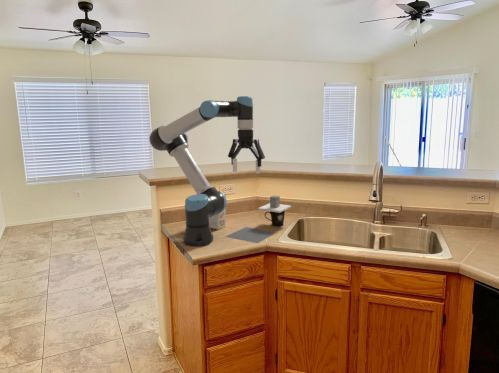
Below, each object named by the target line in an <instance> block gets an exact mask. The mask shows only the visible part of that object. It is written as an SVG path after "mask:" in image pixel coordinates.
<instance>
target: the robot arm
mask: <svg viewBox="0 0 499 373" xmlns="http://www.w3.org/2000/svg"><path fill="white" fill-rule="evenodd" d="M253 101H254V100H253V97H252V96H249V95H248V96H247V95H246V96H245V95H244V96H243V95H240V96H237V97H236V100H230V101H228V100H227V101H225V100H212V99H208V100H204V101H202V103H200V106H198V107H197V108H195V109H193V110H191V111H189V112H188V113H186V114H184V115H182V116H181V117H179V118H177V119H175V120H173V121H172V122H170V123H168V124H167V125H160V126H158V127H157V128H155V129H153V130H152V131H151V133H150V135H149V138H148V139H149V143H150V146H151V147H152V148H154V150H156V151H160V152H161V151H166V152H167V153H168V154H169V157H173V158H174V159H175V162H177V164H178V165H179V167H180V169H181V170H182V172H183V174H184V176H185V178H186V179H187V180H188V182H189V184H190V185H191V187H192V189H193V190H194V192H195V193H196V194H192V195H189V196H187V197H186V198H185V201H184V211H185V212H184V213H185V230H184V233H183V234H184V235H183V236H182V237H183V238H182V240H183V241H182V242H183V244H184V245H186V246H190V247H202V246H207V245H210V244H212V243H213V242H214V234H213V233H212V230H211V229H212V228H210V226H209V217H212V216H214V215H217V214H219V213H221V212H222V211H223V210H224V209H225V208H226V207H227V202H228V201H227V197H225V195H224V194H225V193H223V192H221V191H218V190H217V189H216V186H214V185H211V184H210V183H209V181H208V179H207V178H206V176H205V175H204V173H203V171H202V170H201V168H200V166H199V164H198V163H197V162H196V160H195V158H194V156H193V155H192V154H191V152H190V150H189V143H188V142H189V140H188V139H189V138H188V135H187V133H189V132H190V131H191V130H194V129H195V128H197V127H199V126H201V125H203V124H205V123H206V122H208V121H210V120H213V119H215V118H230V117H231V118H235V117H236V118H237V137H238V138H233V139H232V144H231V147H230V150H229V152H228V155H227V157H228V158H231V166H232V172H233V173H236V172H238V158H236V157H238V155H239V154H240V152H241V150H242V149H246V150H247V149H248V150H250V151H251V153H252V155H253V156H254V158H255V159H256V160H255V174H256V175H258V174H261V167H262V160H264V159H265V158H266V156H265V154H264V151H263V149H262V147H261V145H260V139H258V138H256V139H254V130H253V128H254V118H253V117H254V103H253ZM226 209H227V208H226Z"/></svg>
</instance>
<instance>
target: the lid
mask: <svg viewBox="0 0 499 373" xmlns="http://www.w3.org/2000/svg"><path fill="white" fill-rule="evenodd" d="M291 208H292V205H290V204H289V205H288V204H283V203H281V202H280V196H279V195H271V196H269V203H267V204H264V205H262V206H260V207H257V210H258V211H266V212H270V211H271V212H278V213H281V212H283V211H285V212H286V211H287V210H289V209H291Z"/></svg>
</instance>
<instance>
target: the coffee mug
mask: <svg viewBox="0 0 499 373" xmlns="http://www.w3.org/2000/svg"><path fill="white" fill-rule="evenodd" d="M285 213H286V210H285V211H283V212H281V213H278V212H271V211H266V212H265V213H264V217H265V218H266V219H267V220H268V221H270V222H271V226H274V227H283V226H284V221H285ZM267 214H270V218H271V219H270V218H268V217H267Z"/></svg>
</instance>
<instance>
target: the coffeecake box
mask: <svg viewBox="0 0 499 373" xmlns="http://www.w3.org/2000/svg"><path fill="white" fill-rule="evenodd" d="M223 194H224V195H225V197H226V195H227V194H226V193H223ZM226 198H227V197H226ZM226 210H227V208H225V209H224V210H223V211H222V212H221V213H219V214H217V215H214V216H212V217H209V226H210V229H213V230H217V231H219V230H222V229H225V228H226V215H227V213H226V212H227V211H226Z"/></svg>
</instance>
